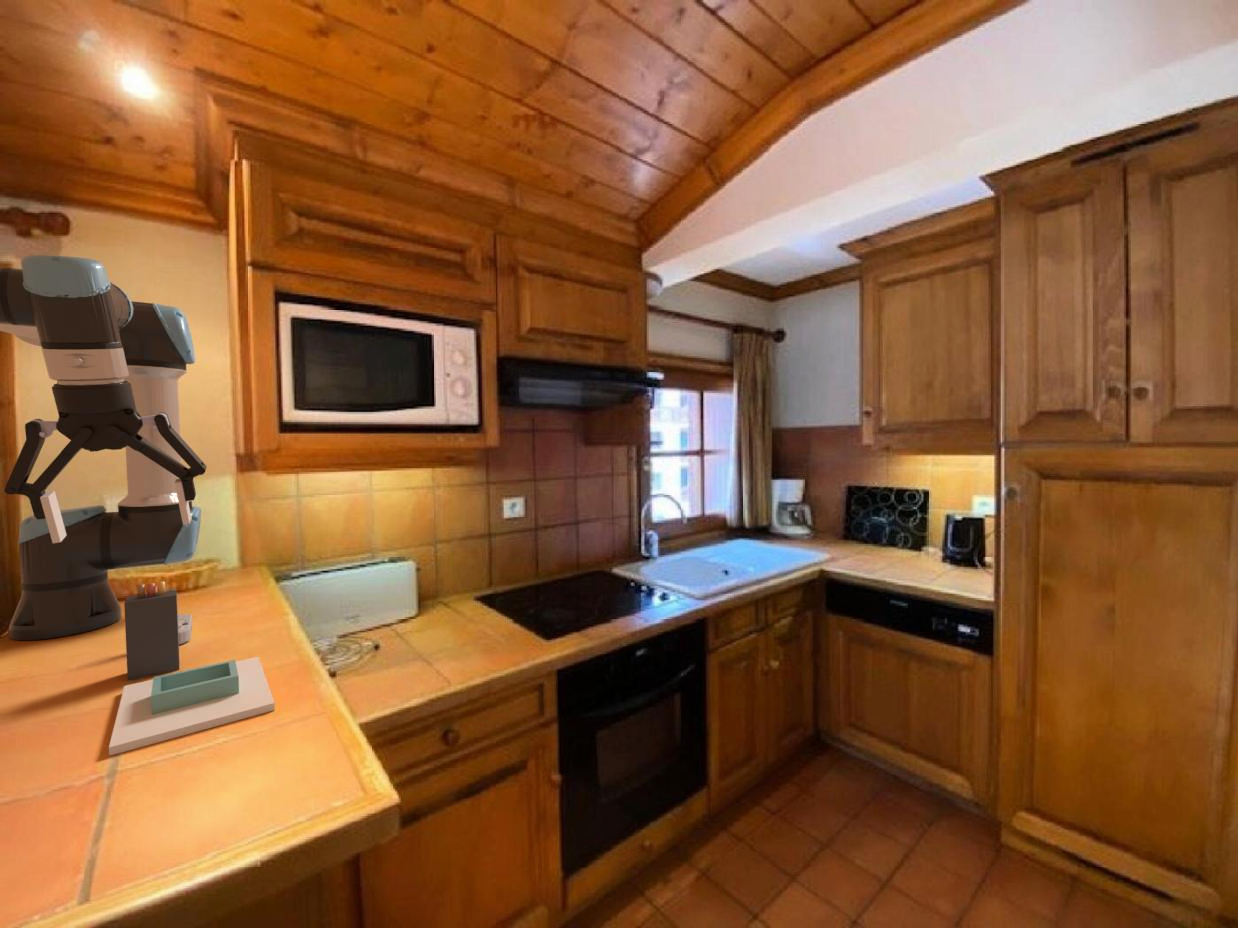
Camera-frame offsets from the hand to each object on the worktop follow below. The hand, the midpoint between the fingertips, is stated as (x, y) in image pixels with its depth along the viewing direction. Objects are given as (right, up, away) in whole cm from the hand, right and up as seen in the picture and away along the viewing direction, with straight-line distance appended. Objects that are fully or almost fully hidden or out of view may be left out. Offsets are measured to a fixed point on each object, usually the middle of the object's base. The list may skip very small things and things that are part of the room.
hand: (126, 530), depth 75 cm
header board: (+12, -24, -2) cm, 26 cm away
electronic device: (-13, -23, +23) cm, 35 cm away
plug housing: (-3, -23, +8) cm, 25 cm away
